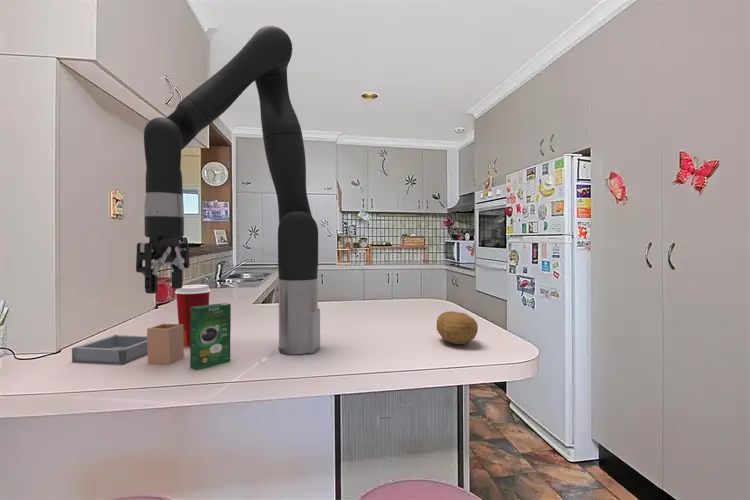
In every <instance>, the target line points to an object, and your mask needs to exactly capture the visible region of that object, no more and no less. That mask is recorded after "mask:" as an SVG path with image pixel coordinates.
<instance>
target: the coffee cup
mask: <svg viewBox="0 0 750 500" xmlns="http://www.w3.org/2000/svg"><path fill="white" fill-rule="evenodd" d="M210 292H212V290H211V289H210V286H209V285H208V284H185V285H183V284H182V288H180V289H175V291H174V293H175V294H176V306H177V309H176V310H177V320H178V324H183V336H184V348H185V347H186V348H190V330H191V307H195V306H204V305H210Z"/></svg>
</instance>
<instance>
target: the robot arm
mask: <svg viewBox="0 0 750 500" xmlns="http://www.w3.org/2000/svg"><path fill="white" fill-rule="evenodd" d="M292 55H293V43H292V40H291V38H290V36H289V35H288V33H287V32H286V31H285V30H284V29H282V28H280V27H278V26H275V25H266V26H265V25H264V26H263V27H261V28H259V29H258V30H256V32H255V33H254V34H253V36H252V37H251V38H250V39H249V40H248V42H246V44H245V45H244V46H243V47H241V49H240V50H239V51H238V52H237V53H236V54H235V55H234V56H233V57H232V58H231V59H230V60H229V61H228V62H227V63H226V64H225V65H224V66H223V67H221V69H219V70H218V71H217V72H216V73H215V74H213V75H212V76H210V77H209V78H208V79H207V80H205V82H203V83H201V85H199V86H197V87H196V88H195V89H194V90H193V91H191V92H190V93H189V94H187V96H184V98H183V99H181V101H179V102H178V104H177V105H176V108H175V109H174V111H172V112H171V114H169V115H168V116H167V117H162V116H161V117H154V118H152V119H151V120H149V121H148V122H147V123H146V125H145V127H144V130H143V145H144V155H145V157H144V158H145V163H146V164H145V165H146V170H145V197H144V198H145V199H144V203H143V204H144V205H143V206H144V208H143V210H144V211H143V212H144V214H143V215H144V236H145V237H146V238H149V240H148V242H138V243H136V257H135V259H136V261H135V270H136V272H137V273H141V274H142V275H144V291H145V293H146V294H153V295H154V294H157V292H158V275H157V274H158V272H159V270H160V268H161V267H163V266H164V264H167V265H169V267H170V269H171V288H172V289H175V290H176V289H180V288H182V286H183V282H184V280H183V278H184V277H183V276H184V275H183V272H185V269H189V268H190V249H189V248H190V246H189V242H188V241H186V242H184V241H180V240H179V239H181V238H184V235H185V225H184V224H185V217H184V216H185V215H184V214H185V213H184V212H185V210H184V208H185V206H184V197H183V196H184V195H183V174H182V169H181V168H182V167H181V164H182V163H181V162H182V150H183V149H184V148H186V147H187V146H188V144H190V143H191V142H192V141H193V140H194V138H196V136H197V135H199V133H200V132H202V130H204V129H205V128H207V127H208V126H209V125H211V124H213V122H214V121H216V120H217V118H219V117H221V115H223V114H224V113H225V112H226V111H227V110H228V109H229V108H230V107H231V106H232V105H234V102H235V101H236V100H238V98H239V97H240V96H241V95H242V94H243V92H244V91H246V89H248V87H249V86H250V85H252V83H254V82H255V85H256V90H257V94H258V99H259V110H260V111H259V112H260V121H261V122H260V123H261V131H262V139H263V146H264V152H265V156H266V161H267V165H268V166H267V167H268V170H269V174H270V177H271V180H272V182H273V186H274V189H275V194H276V198H277V207H278V208H277V209H278V226H277V270H278V274H277V275H278V352H280V353H281V354H285V355H305V354H314V353H315V352H316V351H317V350H319V349H320V347H321V309H320V308H319V307H318V306H319V305H318V304H319V303H318V301H319V300H318V299H319V297H318V270H319V269H318V268H319V227H318V224H317V222H316V220H315V219H314V217H313V215H312V212H311V207H310V203H309V199H308V194H307V164H306V163H307V162H306V149H305V144H304V137H303V132H302V127H301V124H300V121H299V118H298V117H297V113H296V112H295V109H294V107H293V105H292V102H291V99H290V92H289V85H288V66H289V64H290V61H291V59H292V57H293V56H292ZM183 259H184V260H183ZM143 261H144V263H143ZM143 264H144V266H143Z"/></svg>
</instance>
